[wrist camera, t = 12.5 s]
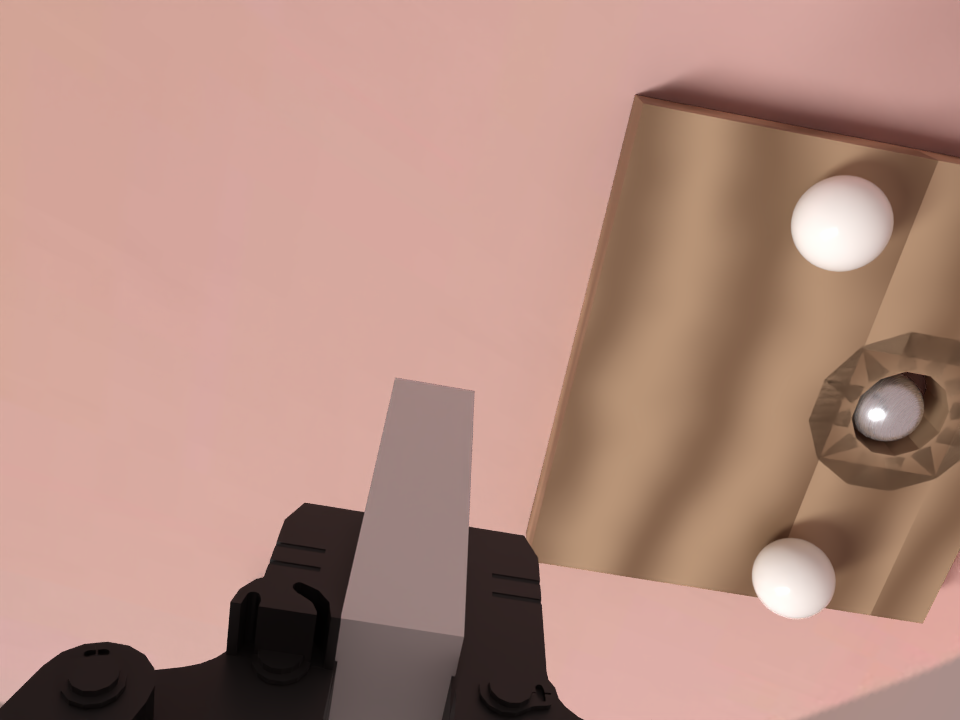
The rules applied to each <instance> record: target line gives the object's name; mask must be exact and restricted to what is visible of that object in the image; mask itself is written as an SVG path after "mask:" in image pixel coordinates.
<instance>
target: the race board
mask: <svg viewBox="0 0 960 720" xmlns="http://www.w3.org/2000/svg"><path fill="white" fill-rule="evenodd" d="M839 175H850V176H857V177H861V178H863V179H866V180H868V181H870V182H872V183H873V184H875V185H876V186H877V187H879V188H880V189H881V190H882V191H883V192H884V194H885V195H886V197H887V198H888V200H889V202H890V204H891V207H892V211H893V217H894V226H893V231H892V235H891V238H890V240H889V242H888V244H887V246H886V247H885V249H884V250H883V251H882V253H881V254H880V255H879V256H878V257H877V258H875V259H874V260H873V261H872V262H870V263H869V264H867V265H865V266H863V267H860V268H858V269H855V270H851V271H844V272H835V271H828V270H824V269H821V268H819V267H816V266H815V265H813V264H811V263H810V262H809V261H807V260H806V259H805V258H804V257H803V256H802V255H801V254H800V252H799V251H798V249H797V248H796V246H795V244H794V241H793V238H792V234H791V219H792V214H793V211H794V208H795V206H796V204H797V202H798V200H799V199H800V198H801V196H802V195H803V194H804V193H805V192H806V191H807V190H808V189H809V188H810V187H811V186H813V185H814V184H816V183H818V182H819V181H821V180H824V179H826V178H830V177H833V176H839ZM903 372H910V373H916V374H922V375H924V376H925V382H926V388H927V389H926V391H925V393H924V396H923V401H924V413H923V417H922V419H921V422H920V423H919V425H918V426H917V428H916V429H915V430H914V431H913V432H912V433H910V434H909V435H907V436H906V437H903V438H901V439H898V440H894V441H878V440H874V439H871V438H869V437H866V436H865V435H863V434H862V433H860V432H859V431H858V430H857V429H856V428H854V427H853V422H852V416H853V413H854V411H855V408H856V406H857V404H858V401H859V399H860V396H861V395H863V394H864V393H865V392H866V391H867V390H868V389H870V388H871V387H872V386H873V385H874V384H875V383H877V382H878V381H879V380H880V379H883V378H886V377H890V376H893V375H897V374H900V373H903ZM783 538H798V539H803V540H806V541H808V542H810V543H812V544H814V545H815V546H817V547H818V548H820V549H821V550H822V551H823V552H824V553H825V554H826V556H827V557H828V558H829V560H830V562H831V564H832V566H833V569H834V572H835V578H836V586H835V591H834V594H833V597H832V599H831V601H830V602H829V604H828V605H827V606H826V607H825V608H828V609H834V610H841V611H847V612H853V613H859V614H866V615H872V616H878V617H885V618H891V619H897V620H904V621H910V622H916V623H923V622H924V620H925V618H926V616H927V614H928V612H929V610H930V608H931V606H932V604H933V602H934V600H935V598H936V596H937V594H938V592H939V590H940V588H941V586H942V584H943V582H944V580H945V578H946V576H947V574H948V572H949V570H950V568H951V566H952V564H953V562H954V560H955V558H956V556H957V554H958V552H959V550H960V157H955V156H949V155H944V154H939V153H934V152H929V151H924V150H919V149H913V148H908V147H903V146H898V145H893V144H888V143H882V142H877V141H872V140H867V139H862V138H857V137H851V136H846V135H841V134H836V133H831V132H826V131H820V130H815V129H810V128H805V127H800V126H795V125H790V124H784V123H779V122H774V121H769V120H764V119H759V118H753V117H748V116H743V115H738V114H733V113H728V112H722V111H717V110H712V109H707V108H702V107H697V106H691V105H686V104H681V103H676V102H671V101H666V100H661V99H655V98H650V97H645V96H640V95H635V97H634V101H633V105H632V109H631V113H630V117H629V121H628V125H627V129H626V133H625V137H624V141H623V145H622V149H621V154H620V158H619V162H618V166H617V170H616V174H615V178H614V182H613V186H612V190H611V194H610V198H609V202H608V206H607V210H606V214H605V218H604V222H603V226H602V230H601V234H600V238H599V242H598V246H597V250H596V254H595V258H594V262H593V266H592V270H591V274H590V278H589V282H588V286H587V290H586V294H585V298H584V302H583V306H582V310H581V314H580V318H579V322H578V326H577V330H576V334H575V338H574V342H573V346H572V350H571V354H570V358H569V362H568V367H567V371H566V375H565V379H564V383H563V387H562V391H561V395H560V399H559V403H558V407H557V411H556V415H555V419H554V423H553V427H552V431H551V435H550V439H549V443H548V447H547V451H546V455H545V459H544V463H543V467H542V471H541V475H540V479H539V483H538V487H537V491H536V495H535V499H534V503H533V507H532V511H531V515H530V519H529V523H528V527H527V531H526V540H527V541H528V543H529V544H530V546H531V547H532V549H533V550H534V552H535V554H536V555H537V557H538V562H539V563H544V564H550V565H557V566H563V567H569V568H576V569H582V570H588V571H595V572H601V573H607V574H614V575H620V576H626V577H632V578H639V579H645V580H651V581H658V582H664V583H670V584H677V585H683V586H689V587H696V588H702V589H708V590H714V591H721V592H727V593H733V594H740V595H746V596H752V597H758V596H757V594H756V592H755V590H754V587H753V582H752V569H753V564H754V561H755V559H756V557H757V555H758V554H759V553H760V551H761V550H762V549H763V548H764V547H765V546H767V545H768V544H770V543H771V542H773V541H776V540H779V539H783Z"/></svg>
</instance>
